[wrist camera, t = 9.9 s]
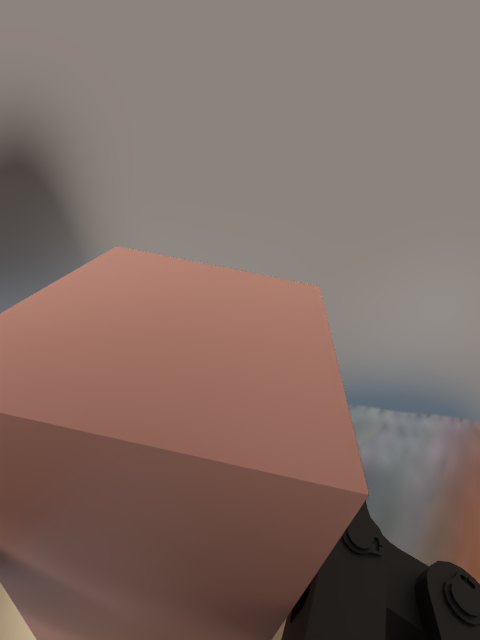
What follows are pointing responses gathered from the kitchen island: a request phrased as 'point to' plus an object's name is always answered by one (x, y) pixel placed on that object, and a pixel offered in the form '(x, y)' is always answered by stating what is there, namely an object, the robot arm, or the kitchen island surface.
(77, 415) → the pillar
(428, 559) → the kitchen island surface
